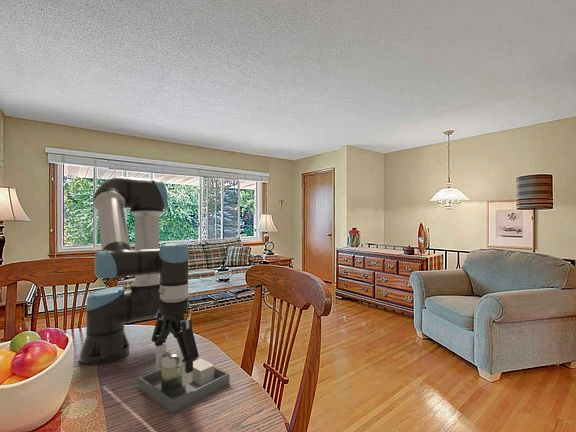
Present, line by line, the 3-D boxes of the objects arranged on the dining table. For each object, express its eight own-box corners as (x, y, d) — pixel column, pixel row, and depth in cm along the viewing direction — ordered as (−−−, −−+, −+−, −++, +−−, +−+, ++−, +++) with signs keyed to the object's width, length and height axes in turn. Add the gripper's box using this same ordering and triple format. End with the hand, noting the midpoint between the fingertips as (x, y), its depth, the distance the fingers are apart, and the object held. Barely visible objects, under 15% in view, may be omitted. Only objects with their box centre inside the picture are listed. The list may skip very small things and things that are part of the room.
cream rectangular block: (186, 377, 93) (187, 363, 93) (200, 371, 97) (200, 358, 97) (200, 385, 88) (200, 371, 88) (214, 378, 92) (214, 365, 92)
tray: (138, 390, 87) (138, 377, 87) (193, 366, 101) (193, 356, 101) (172, 416, 76) (172, 402, 76) (229, 385, 90) (229, 373, 90)
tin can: (178, 382, 90) (178, 347, 90) (190, 390, 86) (190, 354, 86) (156, 391, 85) (156, 355, 85) (168, 400, 81) (168, 362, 81)
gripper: (139, 294, 91) (139, 366, 91) (187, 310, 75) (186, 397, 75) (163, 289, 97) (163, 357, 97) (212, 304, 81) (212, 385, 81)
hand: (173, 375), depth 86 cm, fingers open, 13 cm apart
